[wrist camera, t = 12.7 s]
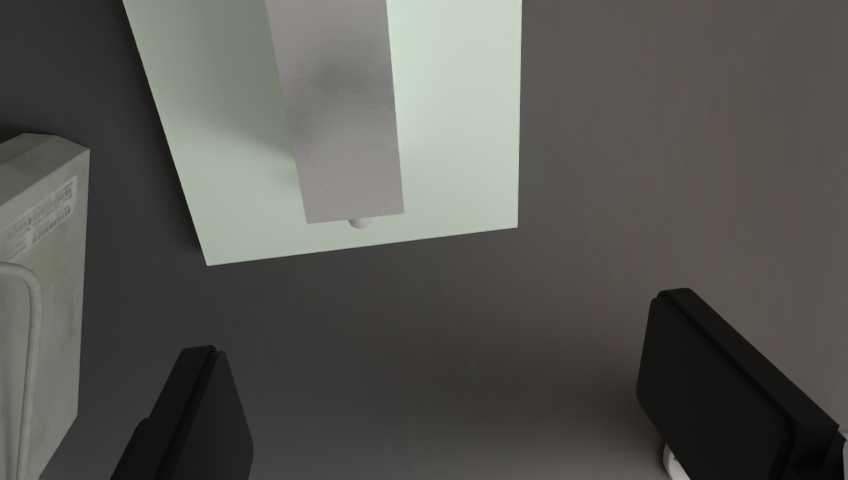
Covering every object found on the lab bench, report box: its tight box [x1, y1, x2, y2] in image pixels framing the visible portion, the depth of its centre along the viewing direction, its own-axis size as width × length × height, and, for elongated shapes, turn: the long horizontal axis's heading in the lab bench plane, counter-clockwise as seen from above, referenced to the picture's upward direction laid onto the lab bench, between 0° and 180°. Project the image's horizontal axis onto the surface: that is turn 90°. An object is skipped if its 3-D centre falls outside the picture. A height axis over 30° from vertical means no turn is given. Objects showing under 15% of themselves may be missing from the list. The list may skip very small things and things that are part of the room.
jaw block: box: [265, 0, 404, 224], centre depth 22 cm, size 4×10×7 cm, turn 3°
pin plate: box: [123, 0, 522, 266], centre depth 24 cm, size 18×20×4 cm
